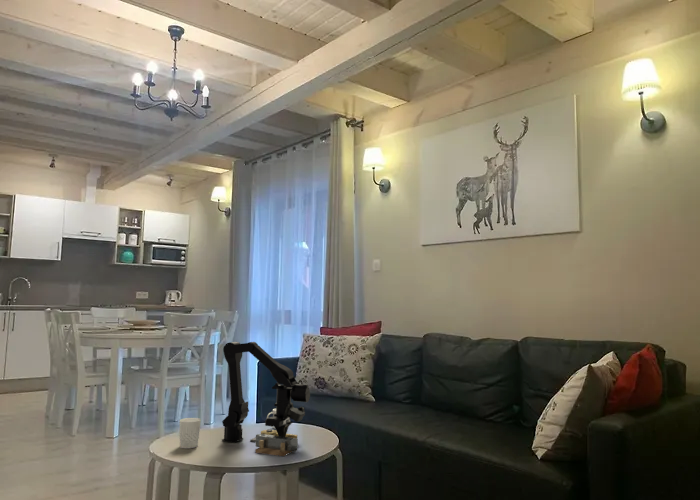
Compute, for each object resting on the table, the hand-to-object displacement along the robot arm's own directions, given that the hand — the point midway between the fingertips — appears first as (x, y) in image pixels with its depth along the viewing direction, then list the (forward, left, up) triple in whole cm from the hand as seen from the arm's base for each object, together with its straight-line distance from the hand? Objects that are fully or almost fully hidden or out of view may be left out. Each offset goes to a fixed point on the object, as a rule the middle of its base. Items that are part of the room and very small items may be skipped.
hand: (282, 440), depth 210 cm
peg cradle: (+3, -10, -2) cm, 10 cm away
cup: (-16, +25, -2) cm, 30 cm away
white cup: (-31, -18, -2) cm, 36 cm away
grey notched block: (+3, -10, 0) cm, 10 cm away
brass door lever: (-4, +4, -1) cm, 6 cm away
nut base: (-8, +4, -2) cm, 10 cm away
